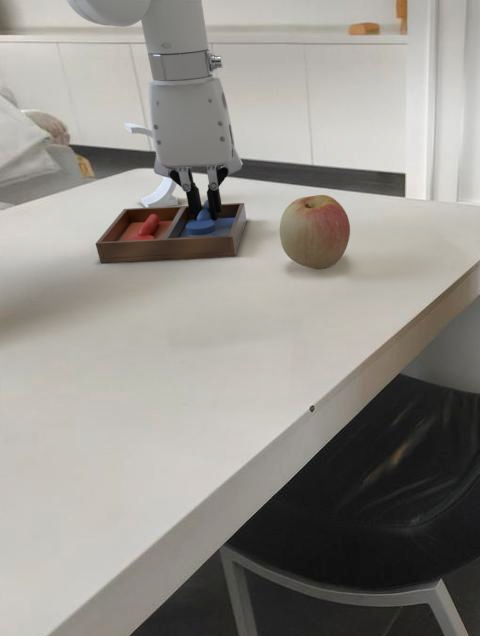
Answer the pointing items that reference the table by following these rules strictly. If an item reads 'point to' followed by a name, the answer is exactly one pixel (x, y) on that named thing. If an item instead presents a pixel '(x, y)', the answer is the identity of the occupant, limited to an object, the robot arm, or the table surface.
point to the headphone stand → (167, 186)
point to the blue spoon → (201, 222)
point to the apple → (315, 231)
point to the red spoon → (147, 228)
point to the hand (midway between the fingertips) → (207, 217)
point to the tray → (171, 235)
